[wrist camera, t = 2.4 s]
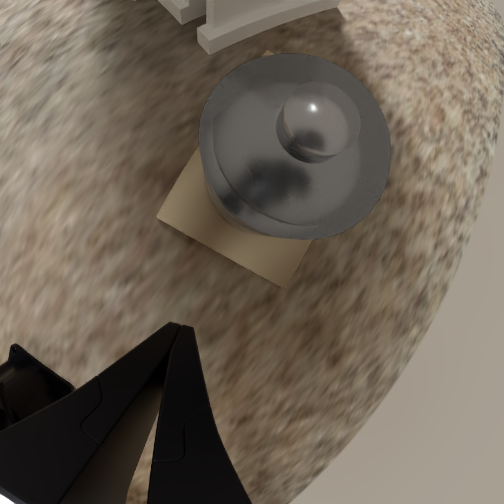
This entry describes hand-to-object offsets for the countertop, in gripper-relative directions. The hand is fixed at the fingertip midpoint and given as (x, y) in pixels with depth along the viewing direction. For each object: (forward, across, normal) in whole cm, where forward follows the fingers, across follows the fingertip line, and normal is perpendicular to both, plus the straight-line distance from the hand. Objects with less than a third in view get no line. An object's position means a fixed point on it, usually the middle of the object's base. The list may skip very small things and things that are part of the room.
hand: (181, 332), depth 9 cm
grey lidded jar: (+12, +2, +2) cm, 12 cm away
